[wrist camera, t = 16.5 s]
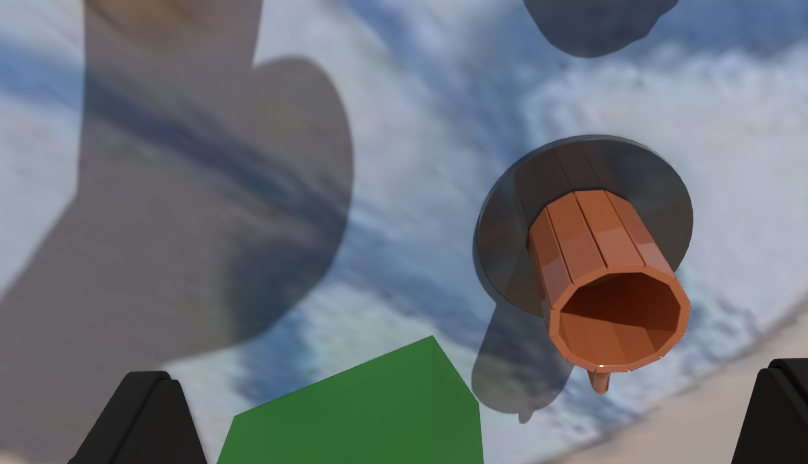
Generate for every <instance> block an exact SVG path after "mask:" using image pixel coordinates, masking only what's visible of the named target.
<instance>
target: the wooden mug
mask: <svg viewBox="0 0 808 464" xmlns="http://www.w3.org/2000/svg"><path fill="white" fill-rule="evenodd" d="M528 255H529V259H530V263H531V267H532V271H533V275H534V279H535V283H536V287H537V291H538V295H539V299H540V303H541V307H542V311H543V315H544V319H545V323H546V327H547V331H548V335H549V338H550V340H551V341H552V343H553V344H554V345H555V347H556V348H557V350H558V351H559V353H560V354H561V355H562V357H563V358H564V359H566V361H568V362H570V363H572V364H575V365H577V366H580V367H582V368H584V369H587V372H588V375H589V378H590V381H591V385H592V388H593V390H594V391H595V392H596V393H598V394H605V393H606V392H607V391H608V389H609V381H610V374H611V372H628V368H629V370H630V371H633V370H635V369H638V368H640V367H642V366H645V365H647V364H650V363H652V362H654V361H657V360H659V359H661V357H660V356H662V357H664V356H665V355H666V354H667V353H668V352H669V351H670V350H671V349H672V347H673V346H674V345H675V344H676V343H677V342H678V341H679V340H680V339H681V338H682V337H683V336H684V333H685V332H686V328H687V323H688V318H689V313H690V308H691V305H690V301H689V299H688V297H687V295H686V294H685V292H684V290H683V288H682V286H681V284H680V283H679V281H678V279H677V277H676V276H675V274H674V272H673V271H672V269H671V268H670V266H669V264H668V263H667V261H666V259H665V258H664V256H663V255H662V253H661V251H660V250H659V248H658V246H657V245H656V243H655V242H654V240H653V238H652V237H651V235H650V233H649V232H648V230H647V229H646V227H645V225H644V224H643V222H642V220H641V219H640V217H639V216H638V214H637V212H636V211H635V209H634V207H633V206H632V204H630V203H629V202H628V201H626V200H624V199H622V198H620V197H618V196H616V195H614V194H612V193H610V192H608V191H605V192H604V190H594V191H575V192H574V193H573V192H571V193H569V194H567V195H565V196H563V197H562V198H560V199H558V200H556V201H554V202H552V203H550V204H548V205H547V208H544V209H543V210H542V212H541V213H540V215H539V216H538V218H537V219H536V220H535V222H534V223H533V225H532V226H531V228H530V231H529V242H528Z"/></svg>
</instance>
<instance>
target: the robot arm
mask: <svg viewBox="0 0 808 464" xmlns="http://www.w3.org/2000/svg"><path fill="white" fill-rule="evenodd" d="M67 464H207V462H206V459H205V456H204V453H203V450H202V447H201V444H200V441H199V438H198V435H197V432H196V429H195V426H194V423H193V420H192V417H191V414H190V411H189V408H188V405H187V402H186V399H185V396H184V393H183V390H182V387H181V385H180V383H179V381H178V380H172V379H171V377H170V375H169V374H168V373H167V372H166V371H143V372H130V373H128V374H127V375H126V376H125V377H124V378H123V380H122V381H121V383H120V385H119V386H118V388H117V389H116V391H115V393H114V394H113V396H112V397H111V399H110V401H109V402H108V404H107V405H106V407H105V408H104V410H103V412H102V413H101V415H100V416H99V418H98V420H97V421H96V423H95V424H94V426H93V428H92V429H91V431H90V432H89V434H88V435H87V437H86V439H85V440H84V442H83V443H82V445H81V447H80V448H79V450H78V451H77V453H76V454H75V456H74V457H73V458H72V459H70V461H69V462H68V463H67ZM731 464H808V358H786V359H774V360H772V361H771V362H770V364H769V366H768V368H764V369H761V370H760V371H759V373H758V375H757V378H756V382H755V385H754V388H753V392H752V395H751V398H750V402H749V406H748V409H747V412H746V415H745V419H744V422H743V426H742V429H741V432H740V436H739V439H738V442H737V446H736V449H735V452H734V456H733V459H732V463H731Z"/></svg>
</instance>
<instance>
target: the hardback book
mask: <svg viewBox="0 0 808 464" xmlns="http://www.w3.org/2000/svg"><path fill="white" fill-rule="evenodd" d="M217 464H484V460H483V448H482V436H481V424H480V412H479V403H478V401H477V400H476V399H475V397H474V396H473V394H472V393H471V391H470V390H469V388H468V387H467V385H466V384H465V382H464V381H463V379H462V378H461V377H460V375H459V374H458V372H457V371H456V369H455V368H454V366H453V365H452V363H451V362H450V360H449V359H448V357H447V356H446V355H445V353H444V352H443V350H442V349H441V347H440V346H439V344H438V343H437V341H436V340H435V338H434V337H433V335H432V336H430V337H427V338H425V339H422V340H420V341H417V342H415V343H412V344H410V345H408V346H405V347H403V348H400V349H398V350H395V351H393V352H390V353H388V354H386V355H383V356H381V357H378V358H376V359H373V360H371V361H368V362H366V363H364V364H361V365H359V366H356V367H354V368H351V369H349V370H346V371H344V372H342V373H339V374H337V375H334V376H332V377H329V378H327V379H324V380H322V381H320V382H317V383H315V384H312V385H310V386H307V387H305V388H302V389H300V390H298V391H295V392H293V393H290V394H288V395H285V396H283V397H280V398H278V399H276V400H273V401H271V402H268V403H266V404H263V405H261V406H258V407H256V408H254V409H251V410H249V411H246V412H244V413H241V414H239V415H236V416H235V417H234V419H233V422H232V425H231V427H230V430H229V432H228V435H227V438H226V440H225V443H224V446H223V448H222V451H221V454H220V456H219V459H218V462H217Z"/></svg>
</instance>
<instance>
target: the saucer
mask: <svg viewBox="0 0 808 464" xmlns="http://www.w3.org/2000/svg"><path fill="white" fill-rule="evenodd" d="M594 190H604V192H605V191H608V192H610V193H612V194H614V195H616V196H618V197H620V198H622V199H624V200H626V201H628V202H629V203H630V204H632V206H633V207H634V209H635V211H636V212H637V214H638V216H639V217H640V219H641V220H642V222H643V224H644V225H645V227H646V229H647V230H648V232H649V233H650V235H651V237H652V238H653V240H654V242H655V243H656V245H657V246H658V248H659V250H660V251H661V253H662V255H663V256H664V258H665V259H666V261H667V263H668V264H669V266H670V268H671V269H672V271H673V272H675V271H676V270H677V268H678V267H679V265H680V263H681V261H682V260H683V258H684V256H685V254H686V251H687V249H688V247H689V243H690V239H691V236H692V229H693V209H692V204H691V199H690V196H689V193H688V191H687V188H686V186H685V184H684V183H683V181H682V179H681V178H680V176H679V175H678V174H677V172H676V171H675V170H674V169H673V168H672V167H671V165H670V164H669V163H668V162H667V161H666V160H665V159H664V158H662V157H661V156H660V155H659V154H658V153H656V152H655V151H653V150H651V149H650V148H648V147H647V146H645V145H642V144H640V143H638V142H635V141H633V140H629V139H626V138H622V137H617V136H610V135H581V136H573V137H569V138H565V139H560V140H557V141H555V142H552V143H549V144H546V145H544V146H542V147H540V148H538V149H536V150H534V151H532V152H530V153H529V154H527V155H526V156H524V157H522V158H521V159H519V160H518V161H517V162H516V163H515V164H513V165H512V166H511V167H510V168H509V169H508V170H507V171H506V172H505V173H504V174H503V175H502V176H501V177H500V178H499V179H498V181H497V182H496V183H495V185H494V186H493V188H492V189H491V191H490V192H489V194H488V196H487V198H486V200H485V202H484V205H483V207H482V210H481V213H480V217H479V221H478V229H477V242H478V252H479V257H480V261H481V264H482V267H483V269H484V272H485V274H486V276H487V277H488V279H489V281H490V282H491V284H492V285H493V286H494V288H495V289H496V290H497V291H498V292H499V293H500V294H501V295H502V296H503V297H504V298H505V299H506V300H507V301H509V302H510V303H512V304H513V305H515V306H516V307H518V308H520V309H522V310H524V311H525V312H527V313H530V314H533V315H536V316H538V317H542V318H544V315H543V311H542V307H541V303H540V299H539V295H538V291H537V287H536V283H535V279H534V275H533V271H532V267H531V263H530V259H529V255H528V242H529V231H530V228H531V226H532V225H533V223H534V222H535V220H536V219H537V218H538V216H539V215H540V213H541V212H542V210H543V209H544V208H547V205H548V204H550V203H552V202H554V201H556V200H558V199H560V198H562V197H563V196H565V195H567V194H569V193H571V192H573V193H574V192H575V191H594Z"/></svg>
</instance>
